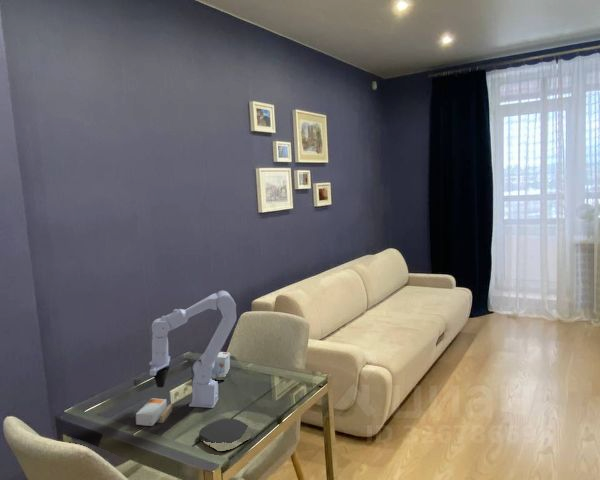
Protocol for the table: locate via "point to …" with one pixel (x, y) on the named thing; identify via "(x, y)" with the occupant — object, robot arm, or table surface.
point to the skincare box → (150, 412)
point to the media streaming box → (223, 431)
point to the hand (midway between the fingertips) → (160, 386)
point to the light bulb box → (221, 365)
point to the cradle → (165, 414)
